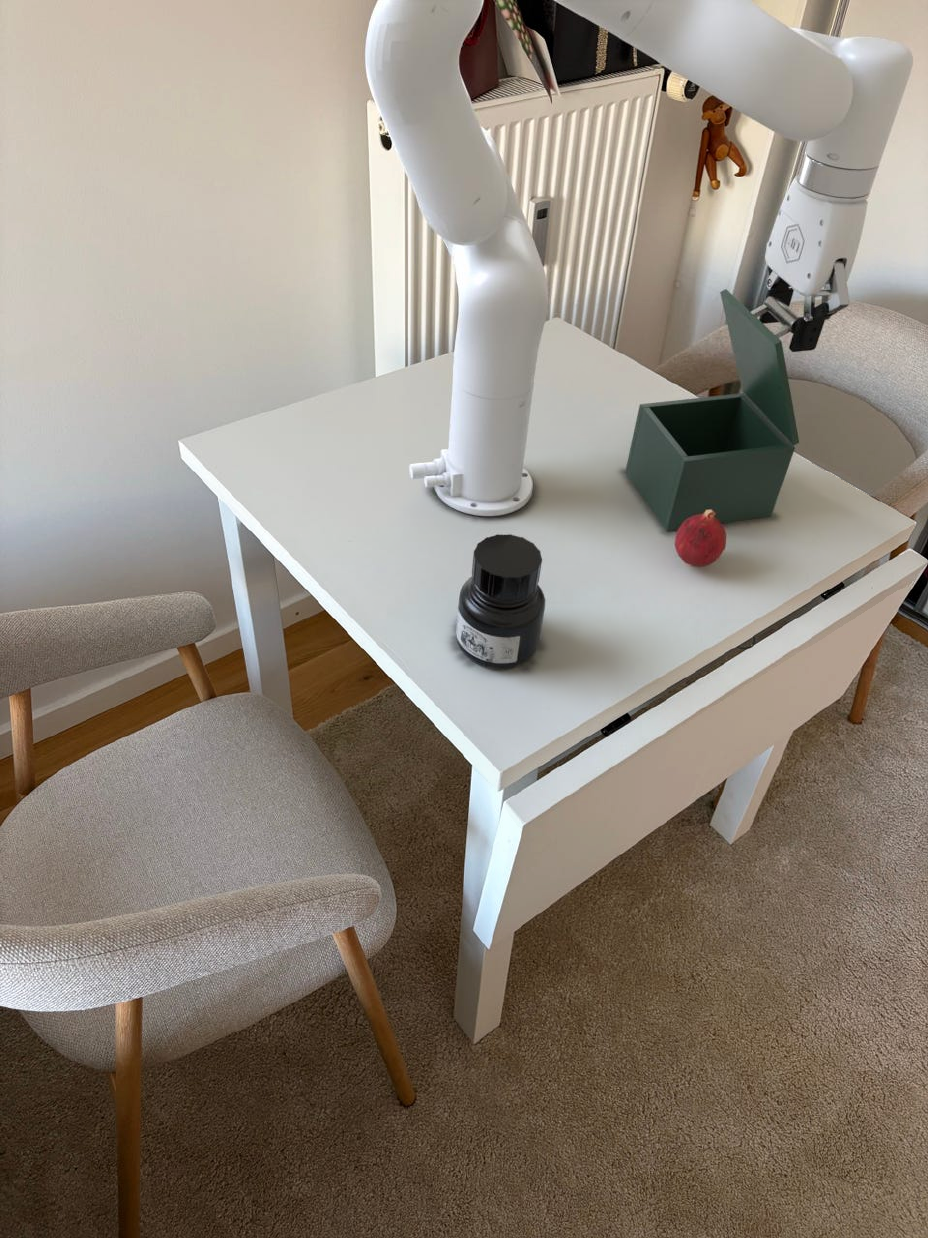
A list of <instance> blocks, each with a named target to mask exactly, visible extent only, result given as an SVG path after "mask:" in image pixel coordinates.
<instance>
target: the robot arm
mask: <svg viewBox="0 0 928 1238" xmlns="http://www.w3.org/2000/svg"><path fill="white" fill-rule="evenodd" d="M484 1H485V0H377V1H376V3H375V5H374V8H373V11H372V12H371V16H370V19H369V23H368V27H367V33H366V39H365V47H364V63H365V71H366V78H367V83H368V87H369V88H370V92H371V95H372V98H373V100H374V101H373V102H374V103H375V106H376V108H377V111H378V112H379V115H380V118H381V119H382V122H383V124H384V126H385V129H386V131H387V133H388V136H389V137H390V141H391V143H392V145H393V148H394V150H395V153H396V155H397V157H398V159H399V162H400V164H401V166H402V169H403V170H404V172H405V175H406V178H407V179H408V182H409V183H410V186H411V188H412V191H413V193H414V195H415V198H416V201H417V205H418V207H419V210H420V211H421V214H422V216H423V218H424V219H425V221H426V223H427V224H428V226H429V227H430V228H431V229H432V230H433V231H434V232H435V233H436V234H437V235H438V236H439V237H441V239H442V241H443V242H444V244H445V247H446V249H447V251H448V253H449V256H450V258H451V261H452V263H453V266H454V270H455V278H456V279H455V280H456V283H457V284H456V285H457V286H456V287H457V292H458V315H457V326H456V334H455V341H454V352H453V363H452V364H453V366H452V388H451V403H450V415H449V416H450V418H449V433H448V446H447V447H448V448H445V449H443V448H442V449H440V457H438V458H434V459H433V461H429V462H417V463H410V464H409V467H408V470H409V471H408V472H409V477H410V479H411V480H417V479H418V480H419V479H423V482H424V483H423V484H424V487H425V488H426V489H427V488H434V491H435V493H436V495H437V497H438V498H439V499H440V500H441V501H442V502H443V503H444V504H446V505H447V506H449V507H451V508H452V509H454V510H456V511H459V512H462V513H463V514H468V515H473V516H479V517H497V516H504V515H507V514H510V513H511V514H512V513H513V512H516V511H518V510H520V509H521V508H523V507H524V506H525V505H526V504H527V503H528V502H530V499H531V497H532V494H533V488H534V483H533V478H532V475H531V474H530V473H529V471H528V470H527V469H526V468H525V467H524V463H525V455H526V448H527V440H528V432H529V426H530V425H529V424H530V415H531V408H532V402H533V395H534V394H533V393H534V385H535V375H536V368H537V362H538V354H539V349H540V345H541V344H540V343H541V339H542V336H543V331H544V327H545V324H546V321H547V317H548V309H549V286H548V285H549V284H548V279H547V275H546V271H545V268H544V265H543V262H542V259H541V256H540V254H539V252H538V249H537V246H536V243H535V240H534V236H533V234H532V232H531V229H530V226H529V224H528V222H527V219H526V217H525V215H524V212H523V209H522V207H521V204H520V202H519V200H518V199H519V198H518V196H517V194H516V192H515V190H514V187H513V184H512V182H511V179H510V176H509V174H508V172H507V169H506V166H505V164H504V161H503V159H502V156H501V153H500V151H499V148H498V146H497V143H496V142H495V140H494V139H493V137H492V136H491V134H490V133H489V132H488V131H487V129H485V128H484V127H483V126H482V125H481V124H480V122H479V119H478V116H477V115H476V112H475V109H474V106H473V103H472V100H471V97H470V94H469V92H468V90H467V88H466V87H467V86H466V85H465V82H464V79H463V77H462V75H461V74H462V73H461V70H460V69H461V68H460V55H461V48H462V46H463V43H464V41H465V40H466V37H467V36H468V35H469V33H470V32H471V30H472V28H473V27H474V26H475V24H476V21H477V20H478V18H479V16H480V13H481V12H482V8H483V7H484V6H483V5H484ZM553 1H554V2H556V3H558V4H559V5H561V6H563V7H564V8H566V9H568V10H570V11H572V12H573V13H575V14H577V15H578V16H580V17H582V18H585V19H586V20H587V21H589V22H591V23H593V24H594V25H596V26H598V27H600V28H602V29H603V30H605V31H607V32H609V33H610V34H612V35H614V36H615V37H617V38H618V39H619V40H621V41H623V42H625V43H626V44H628V45H630V46H632V47H634V48H636V49H637V50H639V51H640V52H642V53H643V54H645V55H646V56H648V57H650V58H652V59H653V60H655V61H657V62H658V63H659V64H660V65H662V66H663V67H665V68H666V69H668V70H669V71H671V72H673V73H675V74H677V75H678V76H680V77H682V78H684V79H686V80H688V81H690V82H691V83H692V84H695V85H696V86H698V87H700V88H701V89H703V90H705V91H706V92H707V93H709V94H710V95H712V96H714V97H715V98H717V99H719V100H720V101H721V102H723V103H725V104H726V105H728V106H729V107H731V108H733V109H734V110H736V111H738V112H739V113H741V114H743V115H744V116H746V117H748V118H749V119H751V120H753V121H754V122H756V123H758V124H760V125H762V126H764V127H766V128H767V129H768V130H770V131H772V132H774V133H775V134H777V135H779V136H781V137H783V138H785V139H787V140H790V141H795V142H806V147H805V151H804V153H803V157H802V161H801V163H800V167H799V171H798V174H797V175H796V176H794V177H793V180H792V182H791V184H790V185H789V187H788V189H787V191H786V193H785V195H784V198H783V200H782V203H781V205H780V207H779V211H778V214H777V216H776V218H775V221H774V224H773V227H772V231H771V233H770V236H769V240H768V241H767V242H766V246H765V247H766V248H765V249H766V250H765V254H764V260H765V263H766V265H767V269H768V270H767V271H768V278H766V285H765V286H766V287H767V292H766V294H765V298H764V301H763V304H762V305H764V302H765V300H766V299H767V298H768V297H769V296H772V295H775V296H777V297H778V298H779V299H780V300H781V301H782V302H783V303H785V304H786V305H787V306H788V307H789V308H790V304H791V302H792V298H793V295H794V292H795V291H796V292H797V293H799V295H801V296H804V301H803V314H802V316H799V318H798V320H797V324H796V327H795V330H794V333H792V337H791V340H790V343H789V345H788V349H789V350H790V351H791V352H792V353H799V352H808V351H809V352H810V351H814V350H815V349H816V348H817V345H818V342H819V340H820V336H821V333H822V331H823V328H824V325H825V322H826V321H827V320H828V321H829V320H830V319H831V317H832V316H834V315H836V314H837V313H838V312H840V311H841V310H844V309H845V308H847V307H849V305H850V294H849V288H848V283H847V282H848V281H849V278H850V275H851V273H852V269H853V266H854V263H855V261H856V257H857V254H858V249H859V246H860V243H861V239H862V234H863V230H864V226H865V220H866V215H867V211H868V210H867V209H868V203H869V202H868V201H867V200H868V199H869V197H870V194H871V190H872V187H873V184H874V182H875V179H876V176H877V172H878V170H879V167H880V164H881V161H882V158H883V155H884V152H885V150H886V147H887V143H888V141H889V138H890V135H891V132H892V129H893V126H894V123H895V121H896V117H897V114H898V112H899V108H900V106H901V102H902V99H903V96H904V94H905V91H906V89H907V88H906V87H907V85H908V82H909V80H910V79H909V78H910V76H911V73H912V69H913V65H914V57H913V53H912V51H911V50H910V49H909V48H908V46H906V45H904V44H902V43H900V42H899V41H895V40H892V39H888V38H882V37H877V36H864V35H862V36H861V35H860V36H852V37H847V38H845V37H839V36H835V35H829V34H824V33H819V32H815V31H811V30H807V29H803V28H799V27H790V26H788V25H786V24H785V23H783V22H782V21H780V20H779V19H777V18H776V17H775V16H773V15H771V14H770V13H768V12H767V11H766V10H764V9H763V8H761V7H760V6H758V5H757V4H756V3H755V2H753V1H752V0H553ZM817 297H821V303H820V304H818V305H815V304H816V298H817ZM758 319H759V320H760V321H761V322H762V323H763V324H764V325H765V324H776V323H777V324H778V323H780V322H779V321H778V320H777V319H776V318H774V317H773V316H772V315H771V314H770V313H769V312H766V313H764V314H762V315H760V316H759V317H758Z"/></svg>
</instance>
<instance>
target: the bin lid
mask: <svg viewBox="0 0 928 1238" xmlns="http://www.w3.org/2000/svg"><path fill="white" fill-rule="evenodd" d="M719 295H720V298H721V302H722V307H723V311H724V315H725V320H726V325H727V329H728V333H729V339H730V343H731V349H732V352H733V356H734V357H733V358H734V361H735V365H736V369H737V370H736V371H737V375H738V379H739V383H740V388H741V392H742V393H744V394H745V395H746V396H747V397H748V398H749V399H750V400H751V401H752V402H753V403H754V404H755V405H756V407H757V408H758V409H759V410H760V411H761V412H762V413H763V414H764V415H765V416H766V417H767V418H768V419H769V420H770V421H771V422H772V424H773V425H774V426H775V427H776V428H777V429H778V430H779V431H780V432H781V433H782V434H783V435H784V436H785V437H786V438H787V440H788V441H789V442H790V443H791V444H792V445H793V446H794V447H795V445H798V444H800V438H799V433H798V427H797V422H796V416H795V411H794V403H793V400H792V399H793V398H792V394H791V387H790V381H789V377H788V371H787V365H786V359H785V354H784V347H783V342H782V340H781V339H780V338H782V337H783V336H785V335H788V334H789V333H791V334H793V333H794V330H795V327H796V324H797V320H798V318H799V317H800V316H799V315H798V314H797V312H795V311H794V310H793V309H792V308H791V307H790V306H789V307H788V306H787V305H786V304H785V303H783V302H782V301H781V300H780V299H779V298H778V297H777V296H775V295H772V296H769V297H768V298H767V299H766V300H765V299H764V301H765V302H764V301H763V304H764V305H763V304H762V305H760V306H758V307H757V308H755V309H753V310H751V311H750V310H749V309H748V308H747V307H746V306H745V305H744V304H743V303H742V302H741V301H740V300H739V299H737V298H736V297H735V296H734V294H732V293H731V292H730V291H729V290H728V289H727V288H725V289H723V290H721V291H720V294H719ZM766 312H769V313H770V314H771V315H772V316H773V317H774V318H776V319H777V320H778V321H779V322H778V323H780V324H781V325H782V326H781V327H779V328H777V329H775V330H773V331H771V330H770V329H769V328H768V327H767V326H766V325H765V324H763V323H762V322H761V321H760V320H759V317H760V315H762V314H764V313H766Z"/></svg>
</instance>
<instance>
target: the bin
mask: <svg viewBox="0 0 928 1238" xmlns="http://www.w3.org/2000/svg"><path fill="white" fill-rule="evenodd" d="M636 415H637V416H636V420H635V424H634V430H633V435H632V438H631V442H630V443H631V444H630V448H629V452H628V458H627V462H626V467H625V471H624V473H625V474H626V476H627V478H628V479H629V480H630V482H631V484H632V485H633V486H634V488H635V489H636V491H637V492H638V493H639V494H640V496H641V498H642V499H643V500H644V502H645V503H646V504H647V506H648V507H649V509H650V510H651V511H652V513H653V514H654V516H655V517H656V519H657V520H658V521H659V523H660V524H661V526H662V527H663V528H664V530H665V532H672V531H678V529H679V527H680V526H681V524H682V523H683V522H684V521H685V520H686V519H688V518H690V517H692V516H694V515H697V514H703V513H704V512H705V511H706V510H710V509H711V510H713V511H714V512H715V516H714V517H715V518H716V519H717V520H718V521H719V522H720V523H721V524H726V523H727V524H728V523H733V522H735V523H736V522H740V521H742V522H743V521H747V520H755V519H761V518H768V517H772V515H773V511H774V509H775V507H776V503H777V500H778V498H779V494H780V492H781V489H782V487H783V484H784V481H785V477H786V475H787V473H788V470H789V466H790V464H791V461H792V458H793V455H794V452H795V450H796V447H795V445H794V446H793V445H792V444H791V443H790V442H789V440H788V439H787V438H786V437H785V436H784V435H783V434H782V433H781V432H780V431H779V430H778V429H777V428H776V427H775V426H774V424H773V423H772V422H771V421H770V420H769V419H768V418H767V417H766V416H765V415H764V414H763V413H762V412H761V411H760V410H759V409H758V407H757V406H756V405H755V404H754V403H753V402H752V401H751V400H750V399H749V398H748V397H747V396H746V395H745V394H744V393H743V392H741V393H732V394H723V395H713V396H704V397H695V398H694V397H693V398H685V399H677V400H666V401H659V402H658V401H657V402H648V403H641V404H639V406H638V411H637V414H636Z"/></svg>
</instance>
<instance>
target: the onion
mask: <svg viewBox="0 0 928 1238" xmlns="http://www.w3.org/2000/svg"><path fill="white" fill-rule="evenodd" d="M714 516H715V512H714V511H713V510H711V509H710V510H706V511H705V512H704V513H703V514H697V515H694V516H692V517H690V518H688V519H686V520H685V521H684V522H683V523H682V524H681V526H680V527H679V529H678V530H676V533H675V537H674V547H675V550H676V554H677V555H678V557H679V558H680V560H682V561H683V562H684V563H685V564H686V565H689V566H691V567H695V568H700V567H705V566H709V565H711V564H713V563H714V562H716V561H717V560H719V559H720V558H721V556H722V554H723V553H724V551H725V549H726V546H727V532H726V529H725V527H724V525H723V523H720V522H719V521H718V520H717V519H716V518H715V517H714Z"/></svg>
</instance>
